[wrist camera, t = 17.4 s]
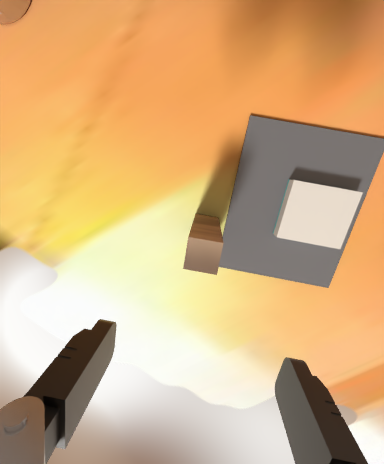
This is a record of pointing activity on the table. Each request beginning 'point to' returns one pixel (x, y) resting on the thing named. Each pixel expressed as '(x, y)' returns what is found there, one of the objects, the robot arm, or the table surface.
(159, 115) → the table surface
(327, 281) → the mat
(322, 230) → the tile
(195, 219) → the walnut stick
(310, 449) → the robot arm
